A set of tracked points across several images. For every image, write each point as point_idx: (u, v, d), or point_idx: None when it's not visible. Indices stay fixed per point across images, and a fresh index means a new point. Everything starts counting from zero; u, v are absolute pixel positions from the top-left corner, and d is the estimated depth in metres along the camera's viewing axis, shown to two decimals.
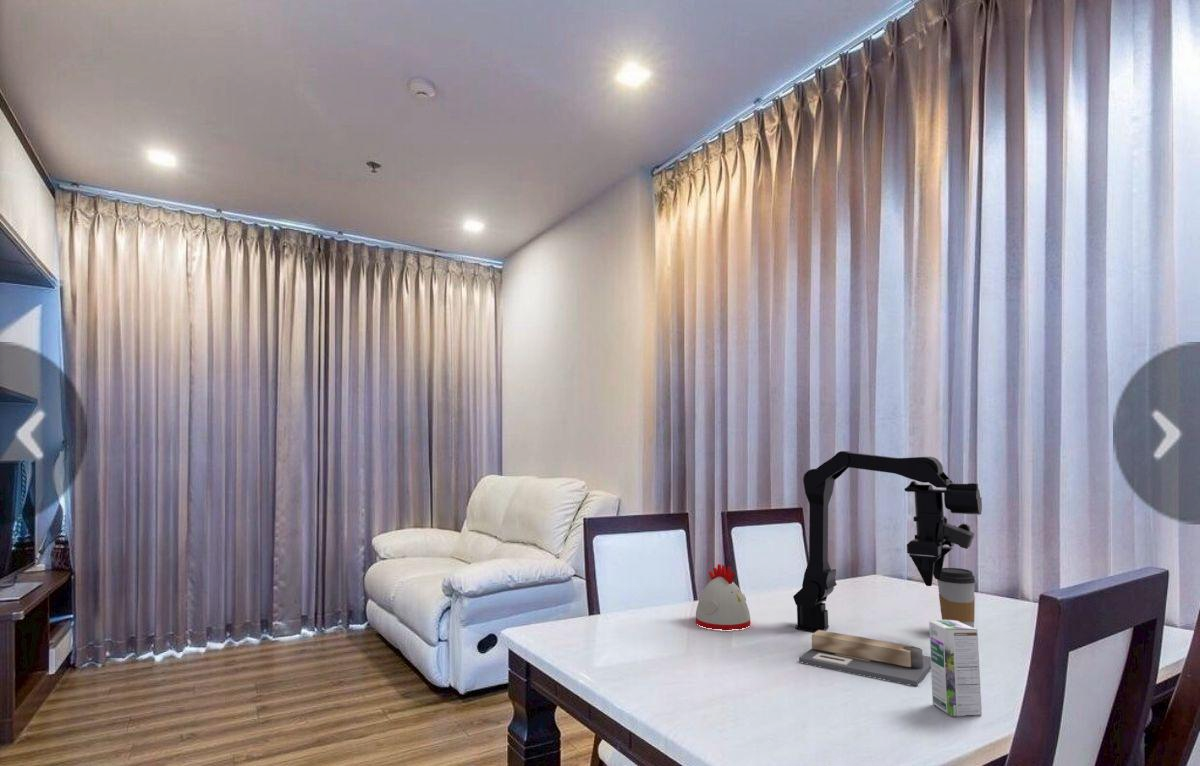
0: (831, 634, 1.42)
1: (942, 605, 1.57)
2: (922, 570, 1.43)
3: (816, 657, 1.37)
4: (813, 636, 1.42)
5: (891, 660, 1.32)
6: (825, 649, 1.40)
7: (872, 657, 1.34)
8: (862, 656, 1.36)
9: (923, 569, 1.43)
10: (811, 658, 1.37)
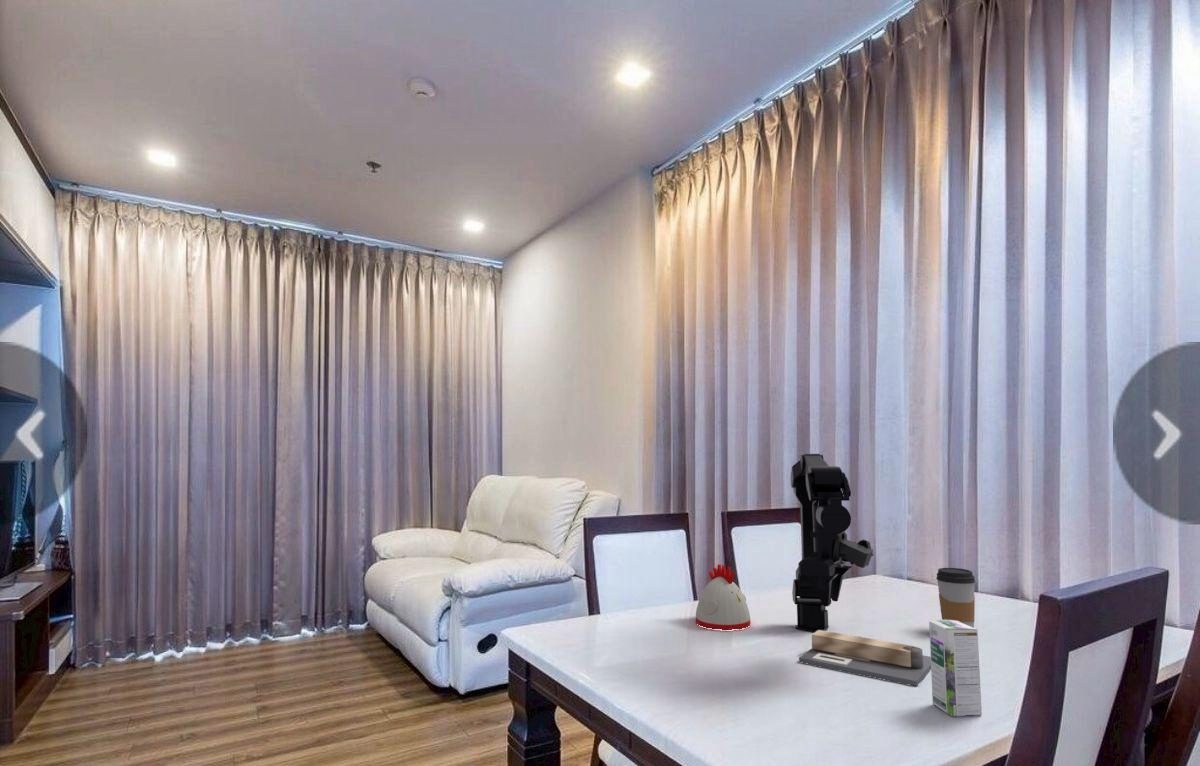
0: (831, 634, 1.42)
1: (942, 605, 1.57)
2: (819, 589, 1.33)
3: (816, 657, 1.37)
4: (813, 636, 1.42)
5: (891, 660, 1.32)
6: (825, 649, 1.40)
7: (872, 657, 1.34)
8: (862, 656, 1.36)
9: (820, 588, 1.32)
10: (811, 658, 1.37)
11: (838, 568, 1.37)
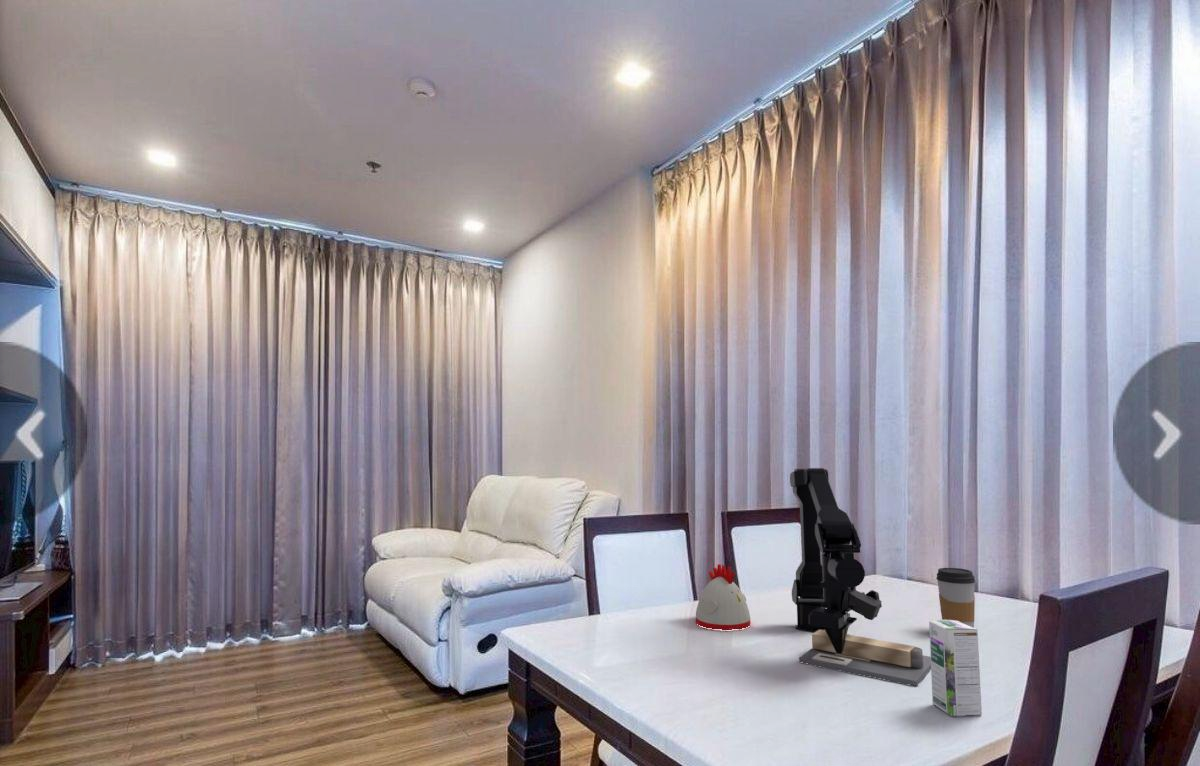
0: None
1: (942, 605, 1.57)
2: (832, 637, 1.37)
3: (816, 657, 1.37)
4: (813, 636, 1.42)
5: (891, 660, 1.32)
6: (825, 649, 1.41)
7: (872, 657, 1.35)
8: (862, 656, 1.36)
9: (833, 636, 1.37)
10: (811, 658, 1.37)
11: None
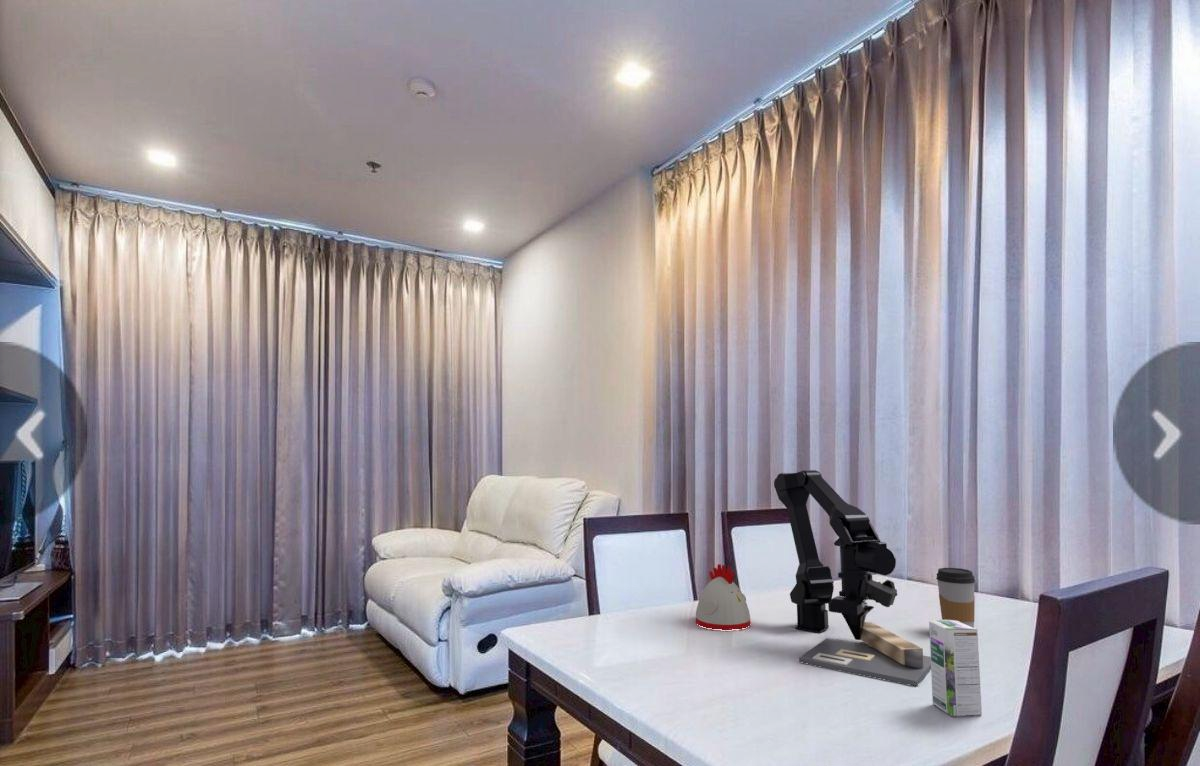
0: (870, 626, 1.48)
1: (942, 605, 1.57)
2: (851, 624, 1.46)
3: (816, 657, 1.37)
4: None
5: (893, 655, 1.35)
6: None
7: (883, 650, 1.39)
8: (878, 648, 1.41)
9: (852, 623, 1.46)
10: (811, 658, 1.37)
11: None
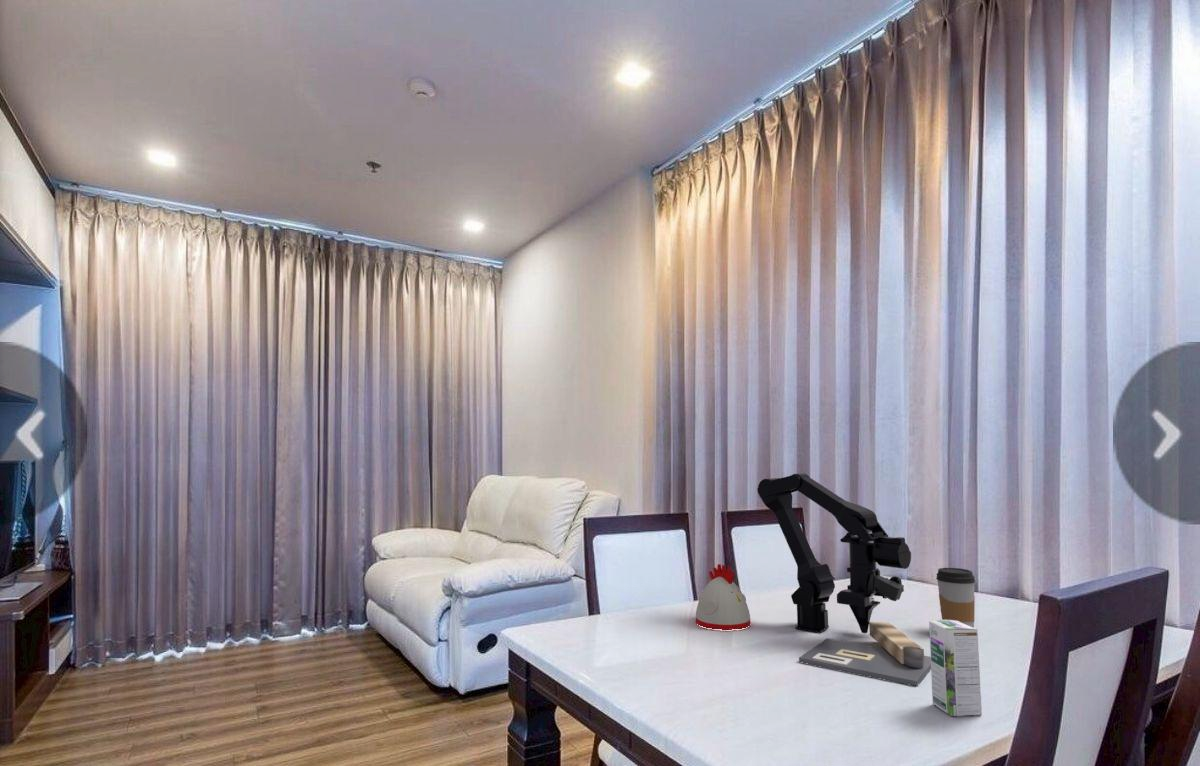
0: (884, 626, 1.48)
1: (942, 605, 1.57)
2: (859, 617, 1.51)
3: (816, 657, 1.37)
4: (869, 624, 1.51)
5: (895, 655, 1.35)
6: (873, 637, 1.49)
7: (889, 650, 1.39)
8: (885, 648, 1.41)
9: (859, 616, 1.51)
10: (811, 658, 1.37)
11: None
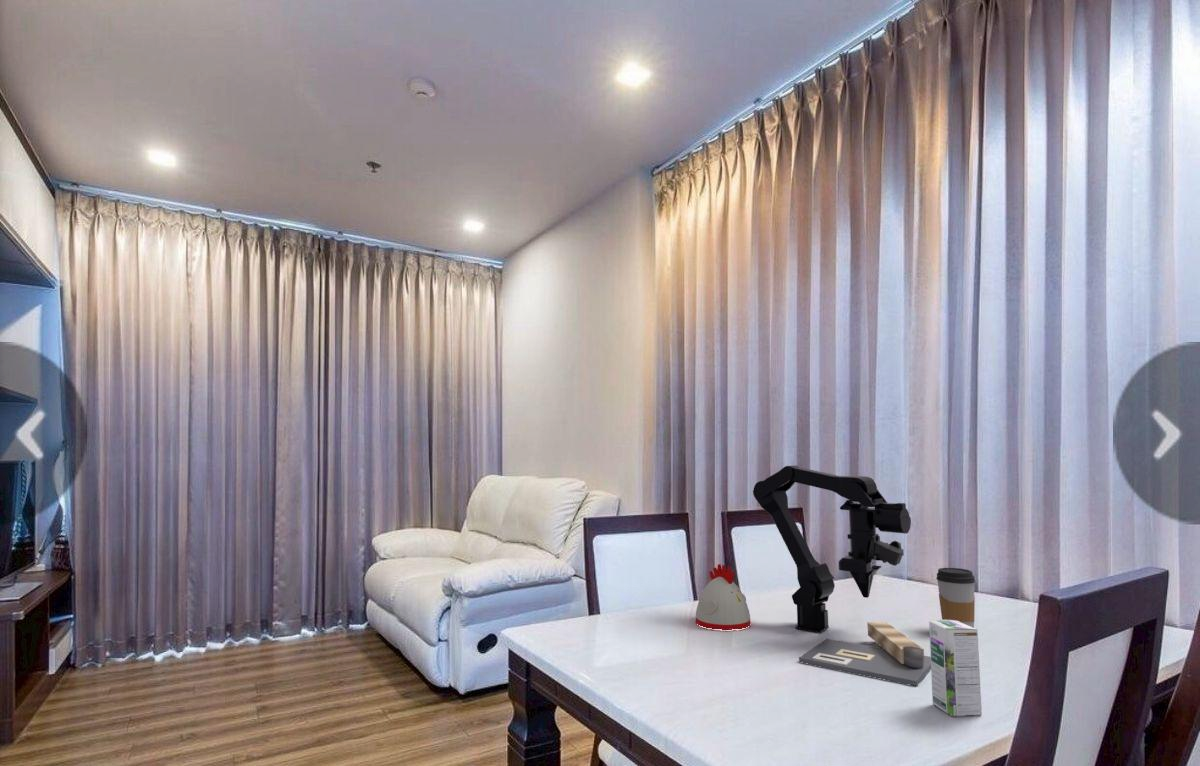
0: (883, 626, 1.48)
1: (942, 605, 1.57)
2: (859, 582, 1.53)
3: (816, 657, 1.37)
4: (868, 624, 1.51)
5: (895, 655, 1.35)
6: (872, 637, 1.49)
7: (888, 650, 1.39)
8: (884, 648, 1.41)
9: (860, 582, 1.53)
10: (811, 658, 1.37)
11: None
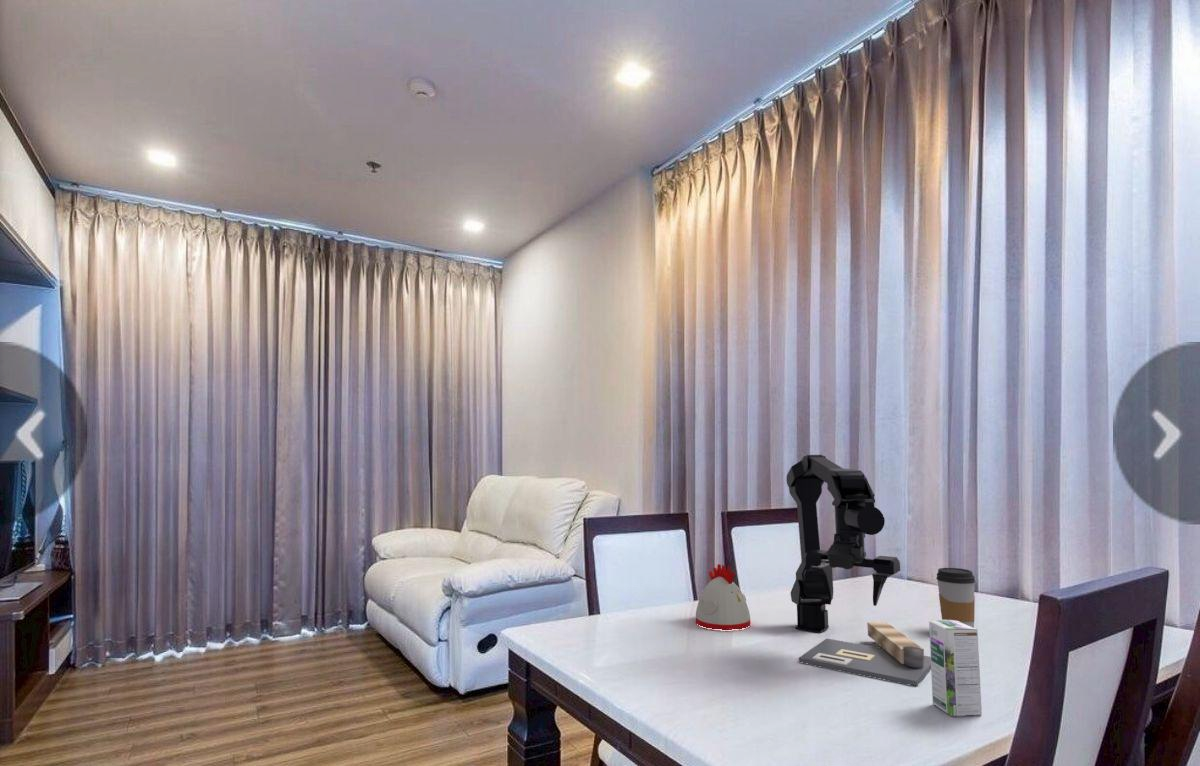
0: (883, 626, 1.48)
1: (942, 605, 1.57)
2: None
3: (816, 657, 1.37)
4: (868, 624, 1.51)
5: (895, 655, 1.35)
6: (872, 637, 1.49)
7: (888, 650, 1.39)
8: (884, 648, 1.41)
9: None
10: (811, 658, 1.37)
11: None
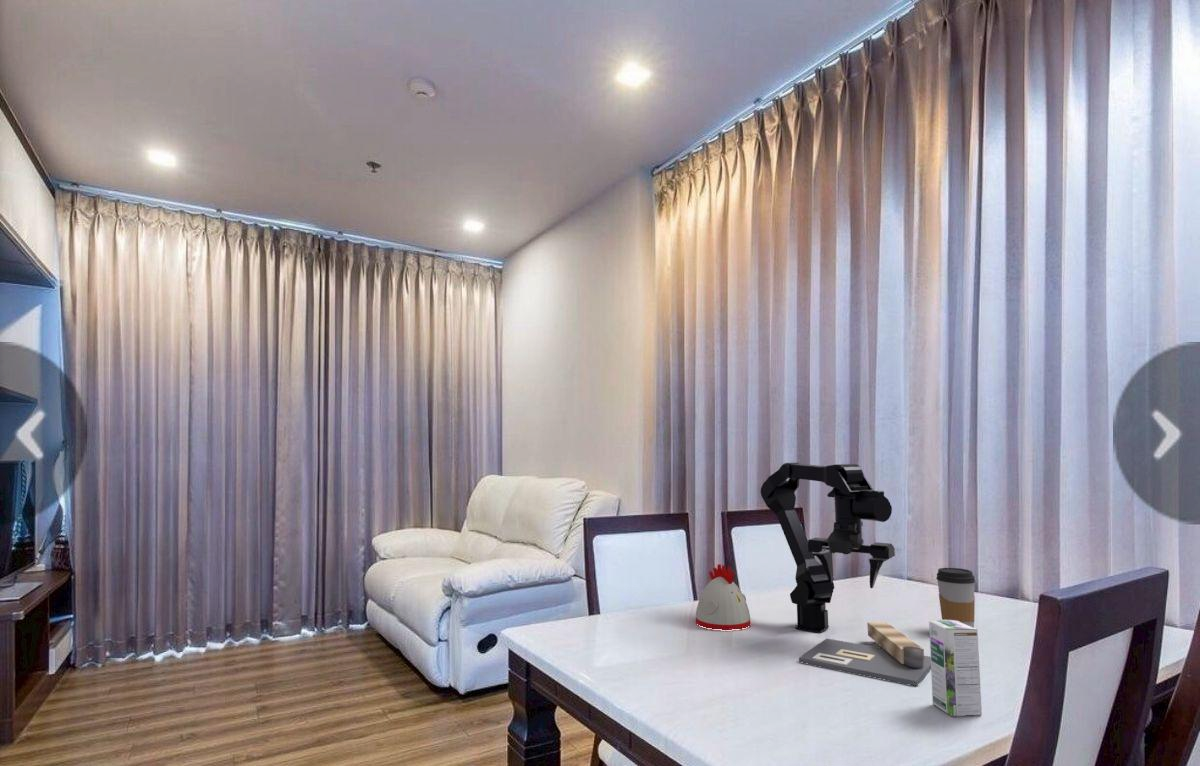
0: (883, 626, 1.48)
1: (942, 605, 1.57)
2: None
3: (816, 657, 1.37)
4: (868, 624, 1.51)
5: (895, 655, 1.35)
6: (872, 637, 1.49)
7: (888, 650, 1.39)
8: (884, 648, 1.41)
9: None
10: (811, 658, 1.37)
11: None
